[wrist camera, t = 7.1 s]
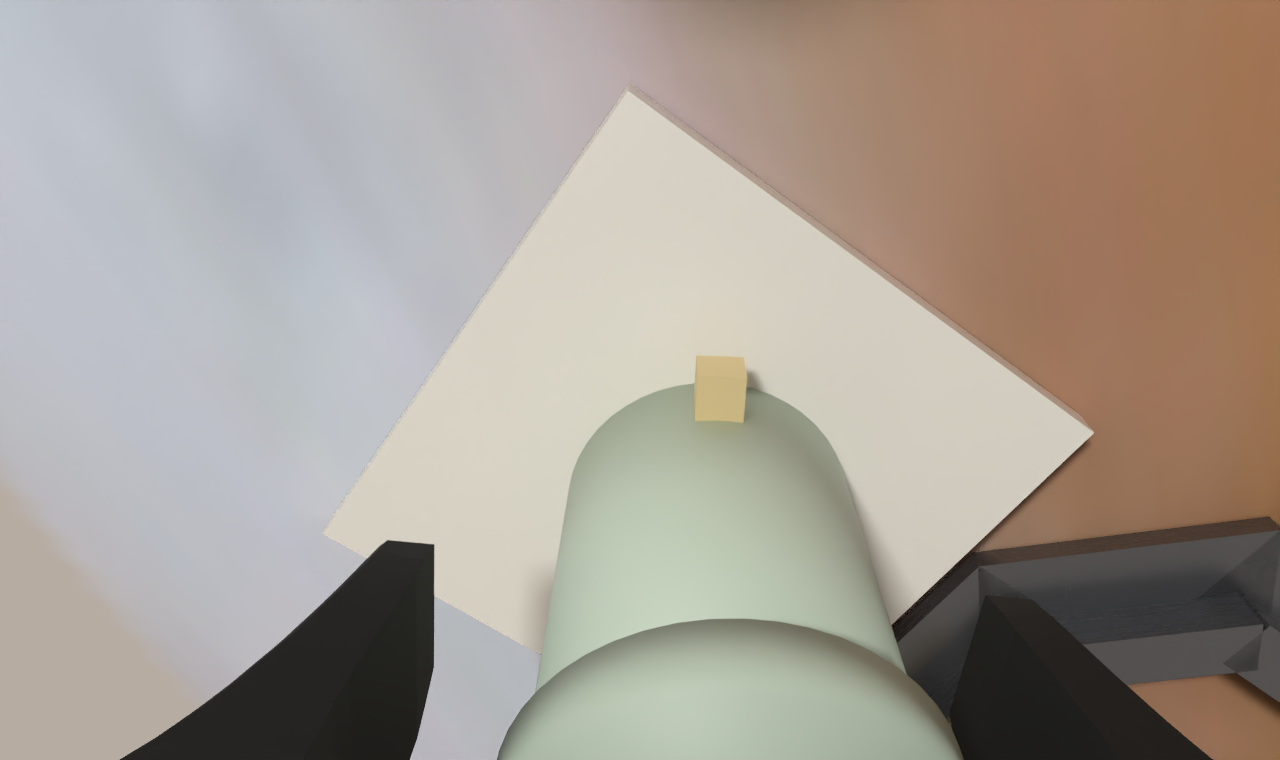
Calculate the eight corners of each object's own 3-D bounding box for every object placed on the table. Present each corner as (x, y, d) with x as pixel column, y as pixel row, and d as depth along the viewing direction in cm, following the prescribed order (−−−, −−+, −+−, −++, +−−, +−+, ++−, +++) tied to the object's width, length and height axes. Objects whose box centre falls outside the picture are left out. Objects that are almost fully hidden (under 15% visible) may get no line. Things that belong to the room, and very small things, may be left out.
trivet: (1079, 414, 16) (1094, 432, 16) (739, 743, 19) (742, 766, 19) (629, 83, 14) (627, 90, 13) (333, 514, 17) (322, 533, 17)
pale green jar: (842, 654, 18) (940, 1072, 11) (551, 643, 18) (488, 1053, 11) (888, 347, 15) (1050, 666, 9) (548, 335, 15) (463, 644, 9)
